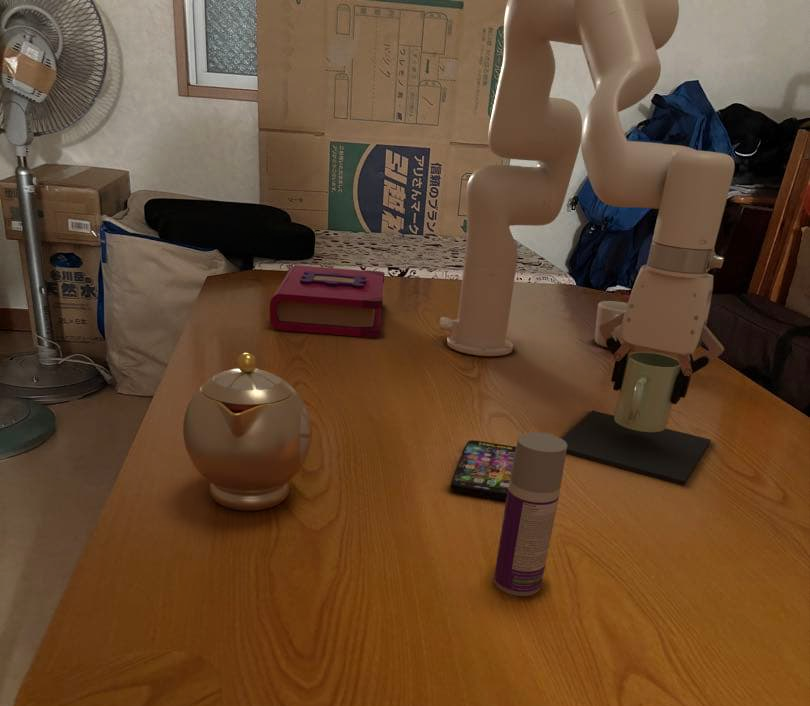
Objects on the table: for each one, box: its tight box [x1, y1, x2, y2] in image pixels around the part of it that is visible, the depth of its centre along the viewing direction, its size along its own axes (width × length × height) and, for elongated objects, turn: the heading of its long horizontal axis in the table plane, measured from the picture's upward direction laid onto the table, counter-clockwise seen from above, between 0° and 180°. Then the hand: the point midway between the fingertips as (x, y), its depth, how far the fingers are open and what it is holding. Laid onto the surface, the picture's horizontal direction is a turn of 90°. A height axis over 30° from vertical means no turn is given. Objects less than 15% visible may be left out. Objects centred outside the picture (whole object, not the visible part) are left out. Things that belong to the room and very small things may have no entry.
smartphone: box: [450, 439, 516, 501], centre depth 98 cm, size 8×1×15 cm
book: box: [269, 264, 386, 339], centre depth 158 cm, size 21×28×8 cm
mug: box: [614, 351, 682, 432], centre depth 105 cm, size 10×7×9 cm
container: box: [493, 431, 567, 597], centre depth 72 cm, size 5×5×15 cm
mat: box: [561, 410, 712, 486], centre depth 110 cm, size 18×18×1 cm
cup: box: [594, 300, 628, 349], centre depth 154 cm, size 11×8×8 cm
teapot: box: [182, 352, 313, 512], centre depth 85 cm, size 18×14×16 cm
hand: (646, 393), depth 106 cm, fingers closed on mug, 7 cm apart
